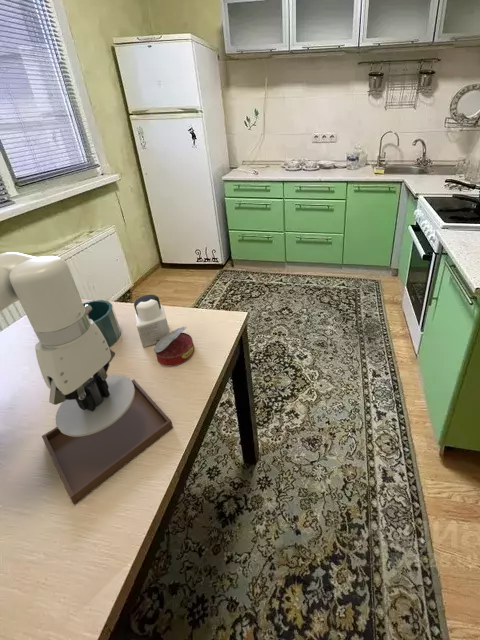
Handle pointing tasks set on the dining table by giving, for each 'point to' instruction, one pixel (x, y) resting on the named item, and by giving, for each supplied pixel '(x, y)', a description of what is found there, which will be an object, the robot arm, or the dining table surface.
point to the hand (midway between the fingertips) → (96, 400)
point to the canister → (105, 319)
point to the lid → (106, 411)
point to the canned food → (174, 348)
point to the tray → (106, 446)
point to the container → (150, 319)
